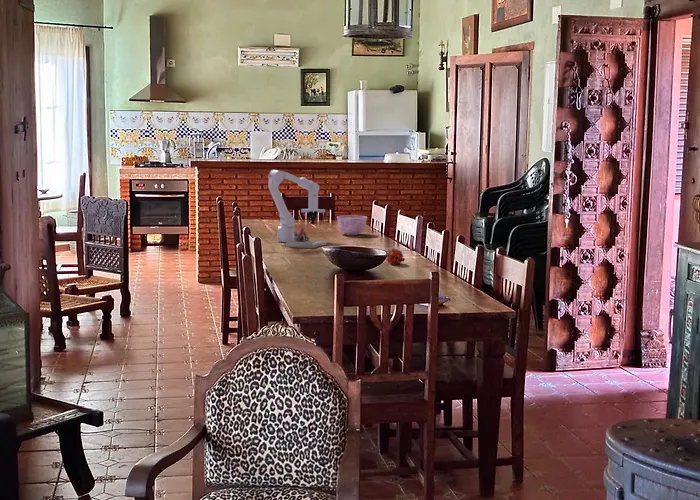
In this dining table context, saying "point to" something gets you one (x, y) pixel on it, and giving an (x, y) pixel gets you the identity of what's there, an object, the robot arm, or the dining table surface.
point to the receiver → (305, 244)
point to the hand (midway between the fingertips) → (313, 224)
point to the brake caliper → (300, 236)
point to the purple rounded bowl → (351, 224)
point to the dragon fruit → (395, 257)
